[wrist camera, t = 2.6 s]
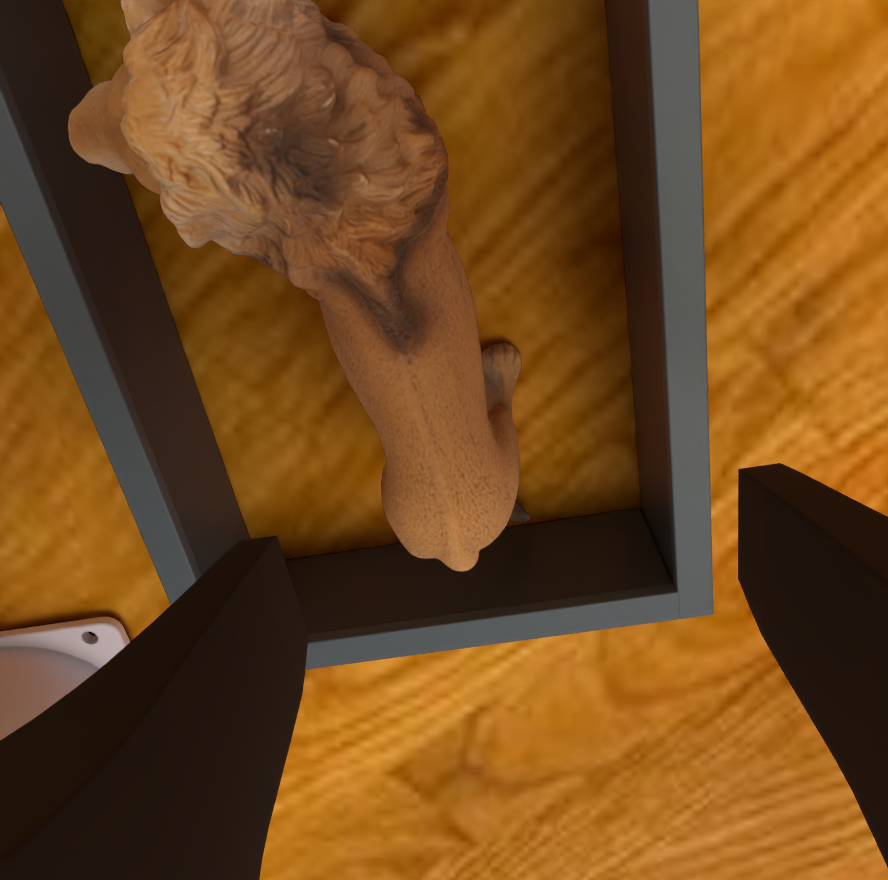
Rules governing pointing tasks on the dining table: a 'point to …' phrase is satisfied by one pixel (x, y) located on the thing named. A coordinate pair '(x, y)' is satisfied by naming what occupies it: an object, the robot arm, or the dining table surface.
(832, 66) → the dining table surface
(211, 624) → the robot arm
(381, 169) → the lion figurine
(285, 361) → the dining table surface
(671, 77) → the crate
